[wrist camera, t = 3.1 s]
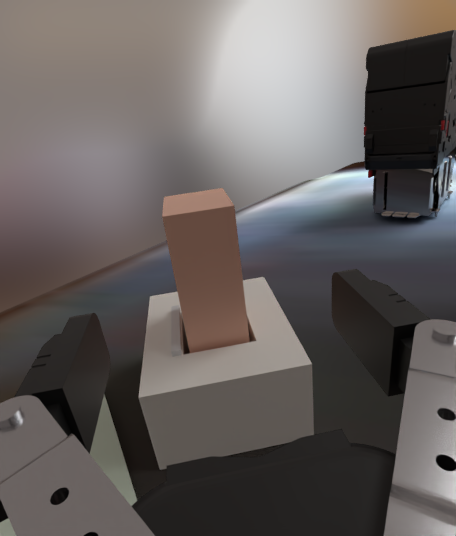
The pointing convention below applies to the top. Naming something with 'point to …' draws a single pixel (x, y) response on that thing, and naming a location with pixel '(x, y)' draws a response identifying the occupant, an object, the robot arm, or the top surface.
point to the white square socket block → (224, 383)
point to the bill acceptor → (411, 124)
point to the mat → (102, 460)
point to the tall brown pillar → (207, 268)
